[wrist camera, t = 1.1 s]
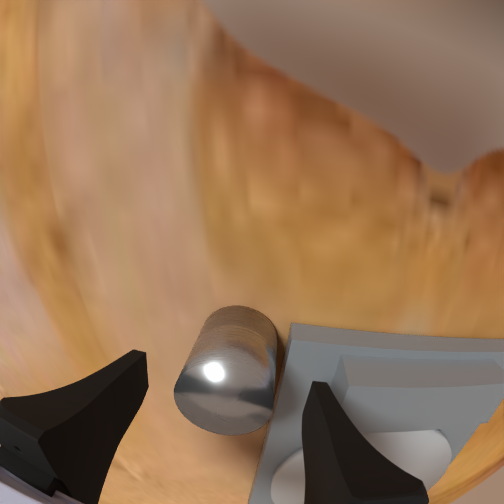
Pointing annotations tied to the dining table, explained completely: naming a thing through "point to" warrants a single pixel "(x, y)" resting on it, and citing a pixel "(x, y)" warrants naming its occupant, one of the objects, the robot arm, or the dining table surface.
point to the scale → (381, 400)
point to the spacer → (230, 373)
